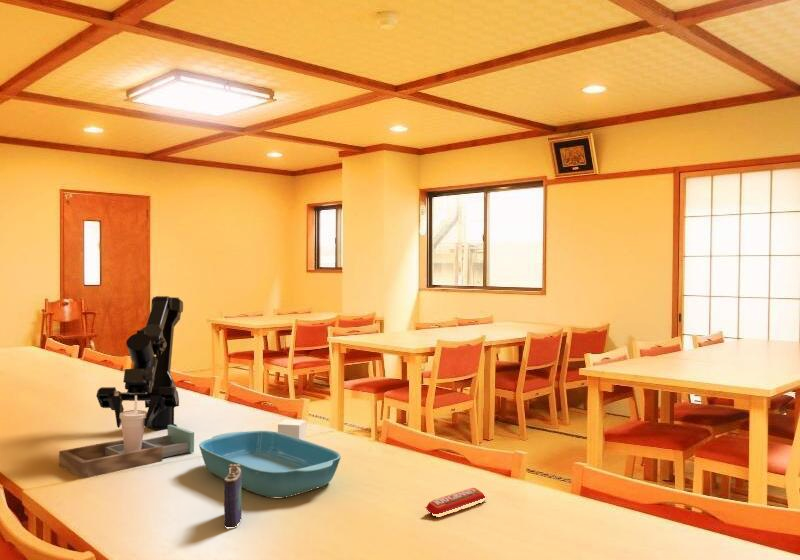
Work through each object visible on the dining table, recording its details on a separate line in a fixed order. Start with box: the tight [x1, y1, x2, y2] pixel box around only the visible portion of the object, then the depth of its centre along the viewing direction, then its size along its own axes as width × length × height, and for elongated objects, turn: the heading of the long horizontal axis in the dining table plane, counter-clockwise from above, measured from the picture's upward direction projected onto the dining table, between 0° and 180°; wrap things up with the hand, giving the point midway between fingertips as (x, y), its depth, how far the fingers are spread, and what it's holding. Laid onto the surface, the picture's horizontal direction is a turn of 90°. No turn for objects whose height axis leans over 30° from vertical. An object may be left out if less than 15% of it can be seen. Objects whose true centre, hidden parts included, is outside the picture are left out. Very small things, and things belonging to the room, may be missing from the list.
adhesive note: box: [277, 418, 307, 441], centre depth 182 cm, size 6×6×6 cm
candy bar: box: [424, 487, 486, 514], centre depth 135 cm, size 16×4×3 cm, turn 132°
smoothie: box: [119, 395, 148, 453], centre depth 165 cm, size 6×6×14 cm
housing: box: [58, 438, 163, 479], centre depth 161 cm, size 19×13×4 cm
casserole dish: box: [198, 430, 342, 498], centre depth 153 cm, size 37×22×7 cm, turn 47°
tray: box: [105, 425, 195, 459], centre depth 168 cm, size 18×12×5 cm, turn 138°
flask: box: [223, 464, 242, 527], centre depth 127 cm, size 9×3×11 cm, turn 8°
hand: (131, 426), depth 164 cm, fingers closed on smoothie, 6 cm apart
